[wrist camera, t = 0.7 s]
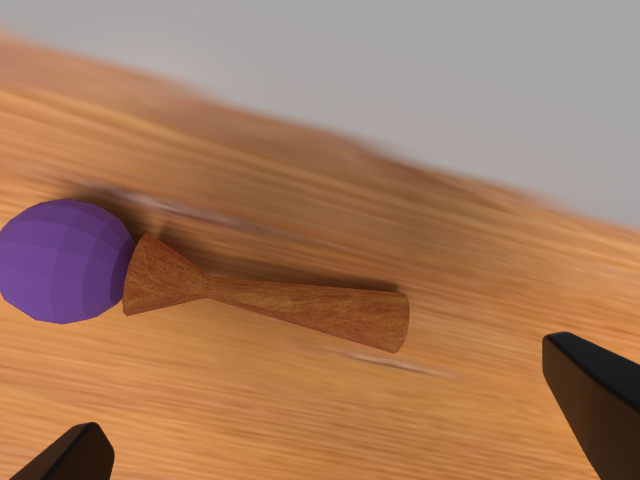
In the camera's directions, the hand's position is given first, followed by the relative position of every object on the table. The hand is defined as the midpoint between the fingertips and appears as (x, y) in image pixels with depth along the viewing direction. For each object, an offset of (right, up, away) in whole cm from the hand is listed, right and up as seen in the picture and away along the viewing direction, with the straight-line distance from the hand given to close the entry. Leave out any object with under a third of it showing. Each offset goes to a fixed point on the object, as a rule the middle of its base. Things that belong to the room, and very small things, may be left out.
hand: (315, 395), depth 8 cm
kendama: (-5, +1, +16) cm, 17 cm away
